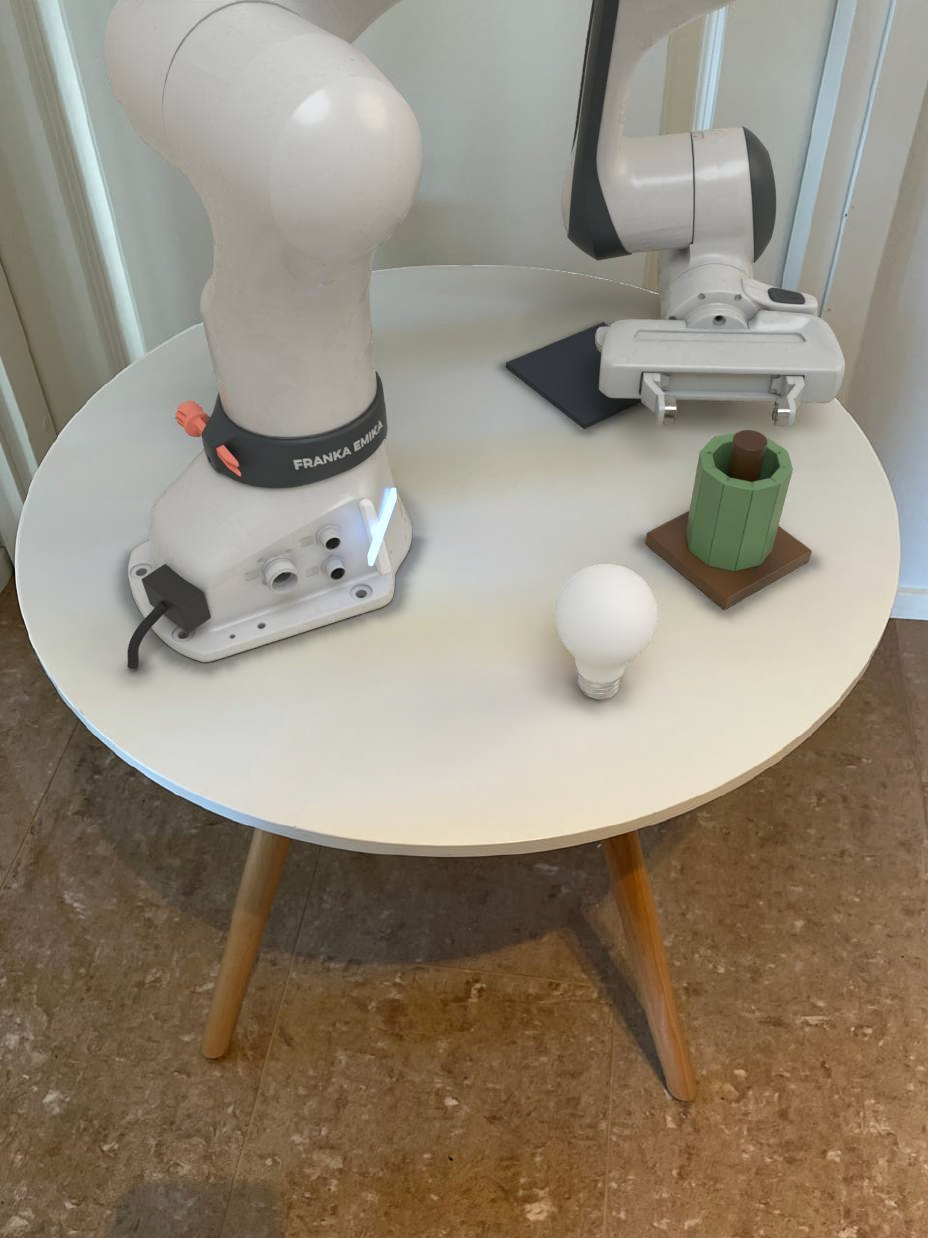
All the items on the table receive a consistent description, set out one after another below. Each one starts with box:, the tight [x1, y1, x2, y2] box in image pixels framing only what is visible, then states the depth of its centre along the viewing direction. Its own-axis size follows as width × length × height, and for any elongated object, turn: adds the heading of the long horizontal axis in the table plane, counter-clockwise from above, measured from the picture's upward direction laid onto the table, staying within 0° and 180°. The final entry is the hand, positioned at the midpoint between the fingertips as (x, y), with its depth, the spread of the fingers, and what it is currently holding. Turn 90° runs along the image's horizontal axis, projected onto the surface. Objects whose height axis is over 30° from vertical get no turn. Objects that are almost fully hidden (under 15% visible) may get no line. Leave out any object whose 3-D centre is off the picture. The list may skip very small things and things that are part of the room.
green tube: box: [686, 431, 794, 571], centre depth 79 cm, size 6×7×8 cm
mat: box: [505, 321, 643, 429], centre depth 100 cm, size 12×12×1 cm
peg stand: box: [644, 429, 813, 610], centre depth 79 cm, size 9×9×11 cm
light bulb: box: [553, 563, 659, 701], centre depth 70 cm, size 7×7×11 cm
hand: (725, 418), depth 85 cm, fingers open, 8 cm apart
